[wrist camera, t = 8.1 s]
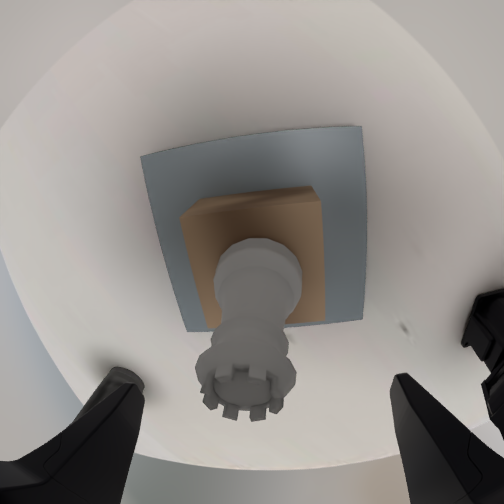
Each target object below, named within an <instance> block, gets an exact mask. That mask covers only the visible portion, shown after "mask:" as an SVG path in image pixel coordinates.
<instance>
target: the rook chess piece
mask: <svg viewBox="0 0 504 504" xmlns="http://www.w3.org/2000/svg"><path fill="white" fill-rule="evenodd" d="M213 281H214V290H215V298H216V300H217V301H218V303H219V306H220V308H221V309H222V319H221V324H220V325H219V326H218V327H217V328H215V330H214V333H213V335H212V338H211V344H212V346H211V347H210V348H209V349H207V350H206V351H205V352H203V353H202V354H201V355H200V356H199V358H198V361H197V363H196V366H195V370H196V374H197V378H198V381H199V382H200V384H201V385H202V388H201V391H200V393H204V394H205V395H204V398H203V403H204V404H205V405H206V406H207V407H208V408H209V409H210V410H213V409H216V408H217V407H218V403H220V404H221V405H223V406H224V411H223V416H222V417H225V418H228V419H232V420H236V421H237V417H238V411H239V410H243V411H250V420H251V422H253V421H259V420H265V419H266V408H269V412H272V413H274V414H277V413H278V412H279V411H280V410H281V409H282V408H283V402H284V397H285V396H286V395H287V394H288V393H289V392H290V390H291V389H292V388H293V387H294V385H295V381H296V370H295V369H294V367H293V365H292V363H291V361H290V359H288V358H287V357H286V355H287V354H288V345H289V342H288V340H287V338H286V336H285V334H284V332H283V329H284V325H285V320H286V319H287V318H288V316H289V314H291V313H292V312H293V310H294V309H295V307H296V305H297V303H298V302H299V300H300V297H301V292H302V269H301V267H300V264H299V262H298V260H297V257H296V256H295V255H294V254H293V253H292V252H291V251H290V250H289V249H288V248H287V247H285V246H284V245H283V244H280V243H278V242H275V241H272V240H270V239H267V238H248V239H246V240H243V241H240V242H238V243H235V244H233V245H231V246H230V247H229V248H228V249H227V250H226V251H225V252H224V253H223V254H222V255H221V257H220V259H219V262H218V265H217V268H216V273H215V276H214V279H213Z"/></svg>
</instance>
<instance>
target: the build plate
mask: <svg viewBox="0 0 504 504" xmlns="http://www.w3.org/2000/svg"><path fill="white" fill-rule="evenodd" d="M140 158H141V163H142V168H143V173H144V178H145V182H146V187H147V192H148V196H149V200H150V205H151V209H152V213H153V217H154V221H155V225H156V229H157V233H158V237H159V241H160V245H161V248H162V252H163V256H164V259H165V263H166V266H167V270H168V273H169V277H170V280H171V283H172V287H173V290H174V293H175V296H176V300H177V303H178V306H179V309H180V312H181V315H182V318H183V321H184V324H185V327H186V330H187V332H210V331H214V330H215V328H208V327H207V324H206V320H205V317H204V313H203V310H202V306H201V302H200V299H199V295H198V291H197V288H196V284H195V280H194V276H193V273H192V269H191V265H190V261H189V257H188V253H187V249H186V244H185V240H184V236H183V232H182V227H181V223H180V219H179V217H180V216H181V215H183V214H184V213H185V212H186V211H187V210H188V209H189V208H190V207H191V206H192V205H193V204H194V203H196V202H197V201H198V200H199V199H202V198H209V197H216V196H223V195H230V194H238V193H246V192H254V191H263V190H271V189H281V188H291V187H301V186H312V187H313V189H314V191H315V192H316V194H317V195H318V197H319V199H320V200H321V209H322V224H323V243H324V268H325V321H317V322H306V323H295V324H285V325H284V328H287V327H299V326H309V325H320V324H329V323H338V322H346V321H354V320H361V319H363V308H364V295H365V279H366V254H367V199H366V175H365V159H364V146H363V135H362V126H342V127H322V128H308V129H296V130H285V131H276V132H267V133H259V134H252V135H245V136H238V137H231V138H225V139H219V140H214V141H208V142H203V143H198V144H193V145H188V146H183V147H178V148H174V149H169V150H165V151H161V152H157V153H152V154H148V155H145V156H141V157H140Z"/></svg>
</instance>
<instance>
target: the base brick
mask: <svg viewBox="0 0 504 504" xmlns="http://www.w3.org/2000/svg"><path fill="white" fill-rule="evenodd" d="M179 219H180V223H181V227H182V232H183V236H184V240H185V244H186V249H187V253H188V257H189V261H190V265H191V269H192V273H193V276H194V280H195V284H196V288H197V291H198V295H199V299H200V302H201V306H202V310H203V313H204V317H205V320H206V324H207V327H208V328H217V327H218V326H219V325H220V324H221V319H222V309H221V308H220V306H219V303H218V301H217V300H216V298H215V290H214V281H213V279H214V276H215V273H216V268H217V265H218V262H219V259H220V257H221V255H222V254H223V253H224V252H225V251H226V250H227V249H228V248H229V247H230V246H231V245H233V244H235V243H238V242H240V241H243V240H246V239H248V238H267V239H270V240H272V241H275V242H278V243H280V244H283V245H284V246H285V247H287V248H288V249H289V250H290V251H291V252H292V253H293V254H294V255H295V256H296V257H297V260H298V262H299V264H300V267H301V269H302V292H301V297H300V300H299V302H298V303H297V305H296V307H295V309H294V310H293V312H292V313H291V314H289V316H288V318H287V319H286V320H285V324H295V323H306V322H317V321H325V268H324V243H323V224H322V209H321V200H320V199H319V197H318V195H317V194H316V192H315V191H314V189H313V187H312V186H301V187H291V188H281V189H271V190H263V191H254V192H246V193H238V194H230V195H223V196H216V197H209V198H202V199H199V200H198V201H197V202H196V203H194V204H193V205H192V206H191V207H190V208H189V209H188V210H187V211H186V212H185V213H184V214H183V215H181V216H180V217H179Z"/></svg>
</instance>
